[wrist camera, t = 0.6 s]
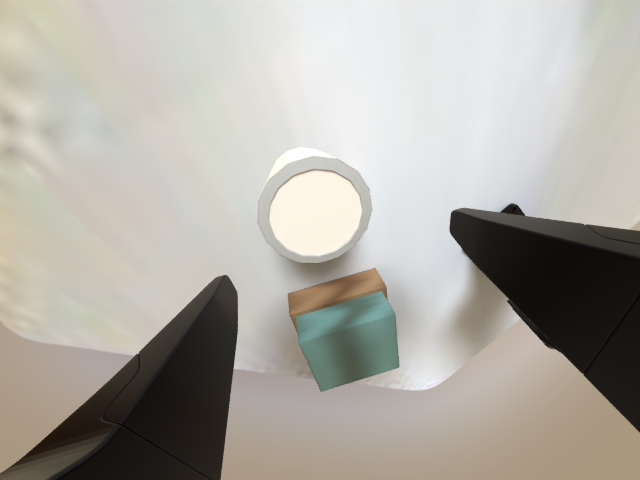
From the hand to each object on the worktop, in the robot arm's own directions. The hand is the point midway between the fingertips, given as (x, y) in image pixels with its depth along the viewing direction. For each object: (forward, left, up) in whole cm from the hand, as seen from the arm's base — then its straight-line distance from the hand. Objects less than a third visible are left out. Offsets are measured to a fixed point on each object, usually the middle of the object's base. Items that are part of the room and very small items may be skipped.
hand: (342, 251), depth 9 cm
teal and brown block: (-13, +11, -12) cm, 21 cm away
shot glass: (0, +1, -12) cm, 12 cm away
